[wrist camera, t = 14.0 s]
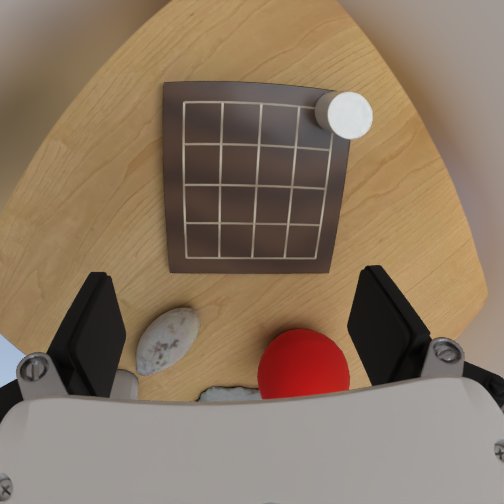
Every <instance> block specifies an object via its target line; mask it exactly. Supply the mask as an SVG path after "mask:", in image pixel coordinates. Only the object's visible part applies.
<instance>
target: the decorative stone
mask: <svg viewBox="0 0 504 504" xmlns="http://www.w3.org/2000/svg"><path fill="white" fill-rule="evenodd" d="M199 327H200V321H199V317H198V313H197V312H196V311H195V310H194V309H191V308H184V307H183V308H176V309H173V310H170V311H168V312H166V313H164V314H162V315H161V316H159V317H158V318H157V319H155V320H154V321H153V322H152V323H151V324H150V325H149V326H148V327H147V329H146V330H145V331H144V333H143V335H142V336H141V338H140V340H139V343H138V346H137V350H136V371H137V373H138V374H140V375H142V376H145V375H150V374H154V373H157V372H159V371H162V370H164V369H166V368H168V367H170V366H172V365H173V364H175V363H176V362H177V361H179V360H180V359H181V358H182V357H183V356H184V355H185V354H186V352H187V351H188V350H189V349H190V347H191V346H192V344H193V343H194V341H195V339H196V337H197V335H198V332H199Z"/></svg>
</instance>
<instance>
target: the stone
mask: <svg viewBox="0 0 504 504" xmlns="http://www.w3.org/2000/svg"><path fill="white" fill-rule="evenodd" d="M246 400H262V398H261V395H260V391H259V390H256V389H249V388H248V389H245V388H243V387H236V388H224V387H215V386H213V387H212V388H210V389H207V391H206V392H203V393H202V394H201V398H200V399H199V401H197V402H216V401H246Z"/></svg>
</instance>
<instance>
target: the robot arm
mask: <svg viewBox="0 0 504 504" xmlns="http://www.w3.org/2000/svg"><path fill="white" fill-rule="evenodd" d="M347 328H348V332H349V335H350V337H351V339H352V341H353V343H354V346H355V348H356V350H357V352H358V354H359V357H360V359H361V361H362V363H363V366H364V368H365V370H366V373H367V375H368V377H369V379H370V382H371V384H372V386H370V387H364V388H358V389H352V390H346V391H339V392H332V393H325V394H317V395H308V396H298V397H288V398H277V399H263V400H246V401H216V402H178V401H150V400H132V399H117V398H110V394H111V390H112V386H113V382H114V379H115V375H116V371H117V367H118V364H119V360H120V357H121V353H122V350H123V346H124V343H125V339H126V330H125V327H124V323H123V320H122V316H121V313H120V309H119V305H118V302H117V298H116V294H115V290H114V286H113V282H112V278H111V276H107V274H106V273H105V272H91V273H90V274H89V275H88V277H87V279H86V280H85V282H84V284H83V286H82V287H81V289H80V291H79V292H78V294H77V296H76V298H75V300H74V301H73V303H72V305H71V307H70V308H69V310H68V312H67V314H66V315H65V317H64V319H63V321H62V323H61V325H60V327H59V329H58V331H57V333H56V335H55V337H54V338H53V340H52V342H51V344H50V347H49V349H48V351H47V353H42V352H35V353H32V354H29V355H27V356H26V357H24V358H23V359H22V360H21V361H20V363H19V364H18V366H17V369H16V375H17V379H15V380H14V381H12V382H10V383H8V384H6V385H4V386H3V387H1V388H0V504H504V379H503V378H502V377H500V376H499V375H496V374H494V373H492V372H489V371H487V370H484V369H482V368H480V367H477V366H475V365H473V364H470V363H468V362H466V361H464V352H463V349H462V348H461V346H460V345H459V344H458V343H456V342H455V341H454V340H451V339H449V338H445V337H438V338H435V339H433V340H432V339H431V337H430V336H429V335H430V331H429V330H428V329H427V327H426V326H425V324H424V323H423V321H422V320H421V319H420V317H419V316H418V314H417V313H416V312H415V310H414V309H413V307H412V306H411V305H410V303H409V302H408V301H407V299H406V298H405V296H404V295H403V294H402V292H401V291H400V290H399V288H398V287H397V286H396V284H395V283H394V282H393V280H392V279H391V278H390V277H389V275H388V274H387V273H386V271H385V270H384V269H383V268H382V266H380V265H372V266H366V267H365V268H364V270H361V272H360V275H359V280H358V284H357V288H356V292H355V296H354V300H353V304H352V308H351V312H350V316H349V320H348V324H347Z"/></svg>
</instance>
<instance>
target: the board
mask: <svg viewBox="0 0 504 504" xmlns="http://www.w3.org/2000/svg"><path fill="white" fill-rule="evenodd" d="M332 91H333V90H326V89H319V88H311V87H303V86H293V85H283V84H271V83H256V82H232V81H185V82H164V83H163V174H164V198H165V217H166V232H167V246H168V258H169V269H170V273H217V274H292V273H329V270H330V265H331V260H332V254H333V249H334V244H335V238H336V233H337V227H338V221H339V215H340V209H341V203H342V197H343V190H344V183H345V177H346V169H347V162H348V154H349V147H350V139H345V138H342V137H339V136H337V135H335V134H332V133H330V132H327V131H325V130H324V129H323V128H321V126H320V125H319V124H318V122H317V120H316V117H315V106H316V103H317V101H318V99H319V98H320V97H321V96H322V95H324V94H325V93H328V92H332Z"/></svg>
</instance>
